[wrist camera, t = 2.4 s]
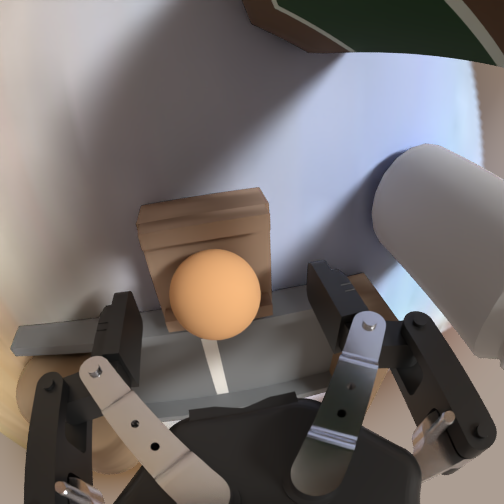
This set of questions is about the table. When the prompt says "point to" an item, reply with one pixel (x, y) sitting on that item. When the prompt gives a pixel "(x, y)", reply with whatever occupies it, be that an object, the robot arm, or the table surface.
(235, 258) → the ball
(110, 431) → the log
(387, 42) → the beer bottle
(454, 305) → the can
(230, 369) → the lane
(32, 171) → the table surface
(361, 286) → the backstop
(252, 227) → the tee
